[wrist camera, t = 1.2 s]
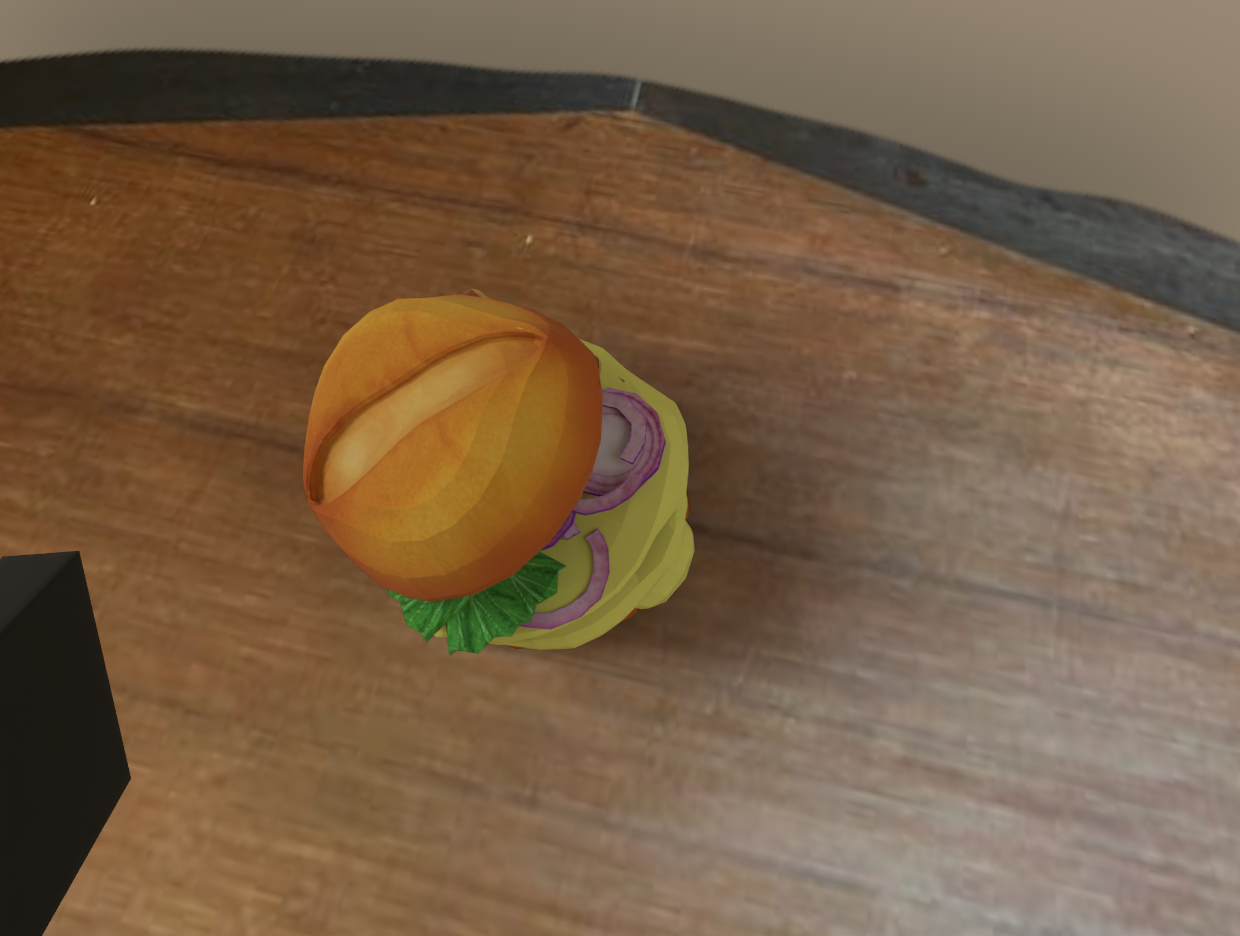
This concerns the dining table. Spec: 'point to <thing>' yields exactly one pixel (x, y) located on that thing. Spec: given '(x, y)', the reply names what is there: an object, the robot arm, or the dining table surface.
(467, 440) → the cheeseburger
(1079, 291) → the dining table surface
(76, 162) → the dining table surface
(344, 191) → the dining table surface
